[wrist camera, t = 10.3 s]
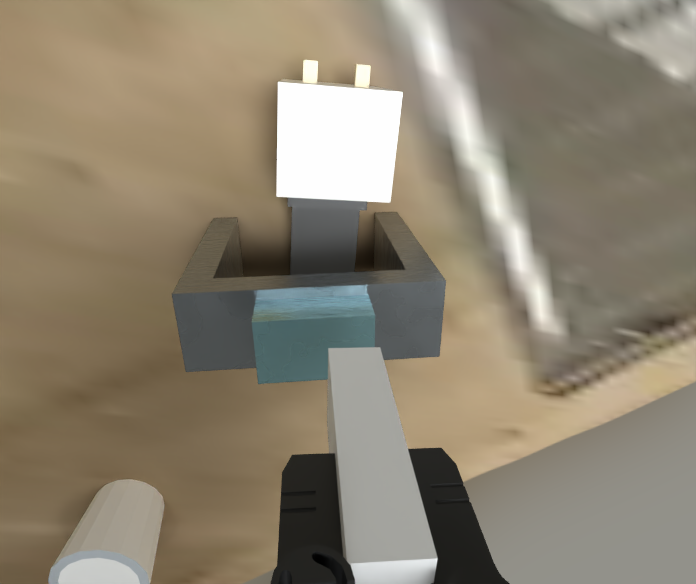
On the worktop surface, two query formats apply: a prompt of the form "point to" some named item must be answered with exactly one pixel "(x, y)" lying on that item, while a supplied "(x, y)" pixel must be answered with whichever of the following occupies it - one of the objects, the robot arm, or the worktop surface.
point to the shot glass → (113, 537)
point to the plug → (333, 162)
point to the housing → (306, 307)
